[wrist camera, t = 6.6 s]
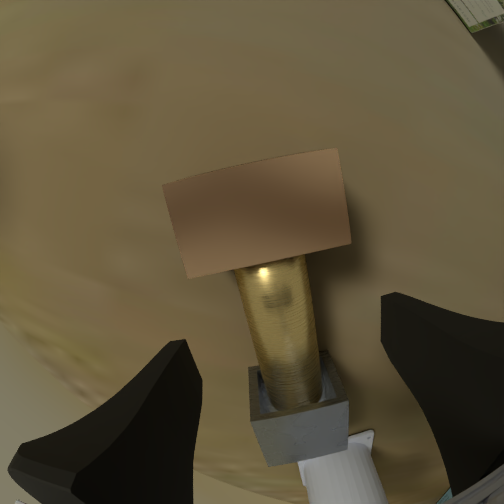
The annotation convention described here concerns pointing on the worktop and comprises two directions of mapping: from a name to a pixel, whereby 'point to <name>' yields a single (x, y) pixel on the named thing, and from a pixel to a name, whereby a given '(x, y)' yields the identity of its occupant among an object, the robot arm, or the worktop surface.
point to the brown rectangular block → (259, 212)
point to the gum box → (445, 497)
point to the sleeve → (300, 420)
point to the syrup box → (479, 13)
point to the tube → (283, 330)
